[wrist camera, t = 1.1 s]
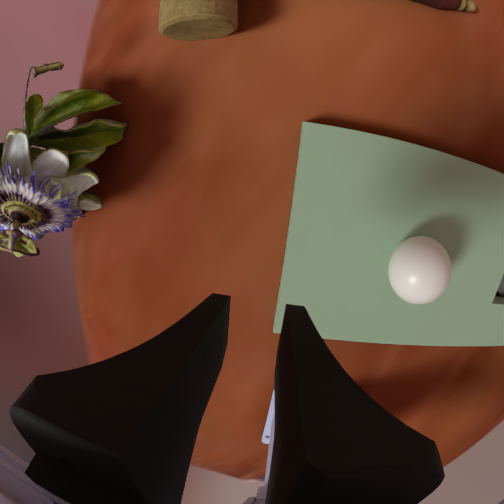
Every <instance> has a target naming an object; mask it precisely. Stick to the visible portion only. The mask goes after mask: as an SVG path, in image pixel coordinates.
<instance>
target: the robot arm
mask: <svg viewBox="0 0 504 504" xmlns="http://www.w3.org/2000/svg"><path fill="white" fill-rule="evenodd" d="M230 299H231V296H227V295H221V294H215V293H213V294H211V295H210V296H209V297H207V298H206V299H205V300H204V301H203V302H202V303H200V304H199V305H198V306H197V307H196V308H194V309H193V310H192V311H191V312H189V313H188V314H187V315H185V316H184V317H183V318H182V319H180V320H179V321H178V322H176V323H175V324H173V325H172V326H171V327H169V328H168V329H166V330H165V331H163V332H162V333H160V334H159V335H157V336H155V337H154V338H152V339H150V340H148V341H147V342H145V343H143V344H141V345H139V346H137V347H135V348H133V349H131V350H128V351H126V352H124V353H121V354H119V355H116V356H114V357H111V358H109V359H106V360H104V361H101V362H97V363H94V364H91V365H88V366H84V367H80V368H77V369H72V370H68V371H63V372H57V373H51V374H45V375H38V376H36V377H35V378H34V379H33V381H32V382H31V383H30V384H29V386H28V387H27V388H26V389H25V391H24V392H23V393H22V394H21V395H20V397H19V398H18V399H17V400H16V402H15V403H14V404H13V405H12V407H11V409H10V415H11V419H12V421H13V423H14V425H15V426H16V428H17V429H18V431H19V432H20V434H21V435H22V436H23V438H24V439H25V440H26V441H27V443H28V444H29V445H30V447H31V448H32V449H33V450H34V452H35V453H36V455H35V456H34V458H33V459H32V461H31V463H30V464H28V463H26V462H25V461H23V460H22V459H20V458H19V457H17V456H16V455H14V454H12V453H11V452H10V451H8V450H7V449H6V448H4V447H3V446H2V445H0V504H181V499H182V495H183V491H184V486H185V481H186V477H187V473H188V469H189V465H190V461H191V457H192V453H193V449H194V445H195V441H196V437H197V433H198V429H199V426H200V423H201V420H202V417H203V414H204V412H205V409H206V406H207V404H208V401H209V399H210V396H211V393H212V391H213V388H214V386H215V383H216V380H217V378H218V375H219V373H220V370H221V367H222V363H223V359H224V355H225V351H226V347H227V341H228V327H229V313H230ZM262 442H263V443H266V444H269V450H268V459H267V468H266V476H265V485H264V487H258V491H257V497H249V498H248V499H247V500H246V501H245V502H244V503H243V504H418V503H419V502H420V501H422V500H423V499H424V498H426V497H427V496H428V495H430V494H431V493H432V492H433V491H434V490H435V489H436V488H437V487H438V486H439V485H440V484H441V482H442V481H443V479H444V477H445V475H444V470H443V466H442V462H441V458H440V455H439V452H438V449H437V446H436V444H435V442H434V441H433V440H431V439H429V438H427V437H426V436H424V435H422V434H420V433H419V432H417V431H415V430H414V429H412V428H410V427H409V426H407V425H406V424H404V423H403V422H401V421H400V420H398V419H397V418H396V417H394V416H393V415H392V414H390V413H389V412H388V411H386V410H385V409H384V408H383V407H381V406H380V405H379V404H378V403H377V402H375V401H374V400H373V399H372V398H371V397H370V396H369V395H368V394H367V393H366V392H364V391H363V390H362V389H361V388H360V387H359V386H358V385H357V384H356V382H355V381H354V380H353V379H352V378H351V377H350V376H349V375H348V374H347V372H346V371H345V370H344V369H343V368H342V366H341V365H340V364H339V362H338V361H337V360H336V358H335V357H334V356H333V354H332V353H331V351H330V350H329V348H328V347H327V345H326V344H325V342H324V340H323V339H322V337H321V336H320V334H319V332H318V330H317V329H316V327H315V325H314V323H313V321H312V319H311V318H310V316H309V314H308V311H307V309H306V308H305V307H304V306H299V305H291V304H286V307H285V312H284V318H283V323H282V328H281V334H280V339H279V344H278V349H277V357H276V366H275V389H274V390H273V394H272V399H271V403H270V407H269V412H268V416H267V420H266V424H265V428H264V432H263V436H262ZM498 504H504V500H502V501H501V502H499V503H498Z"/></svg>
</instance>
